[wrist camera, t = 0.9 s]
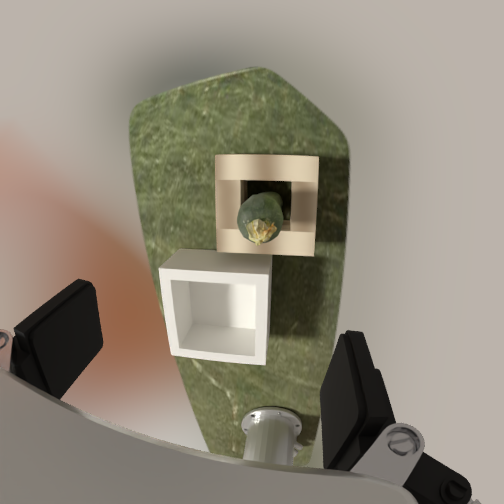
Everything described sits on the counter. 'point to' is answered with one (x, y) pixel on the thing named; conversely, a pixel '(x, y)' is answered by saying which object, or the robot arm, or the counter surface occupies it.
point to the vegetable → (261, 217)
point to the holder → (235, 194)
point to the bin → (217, 305)
